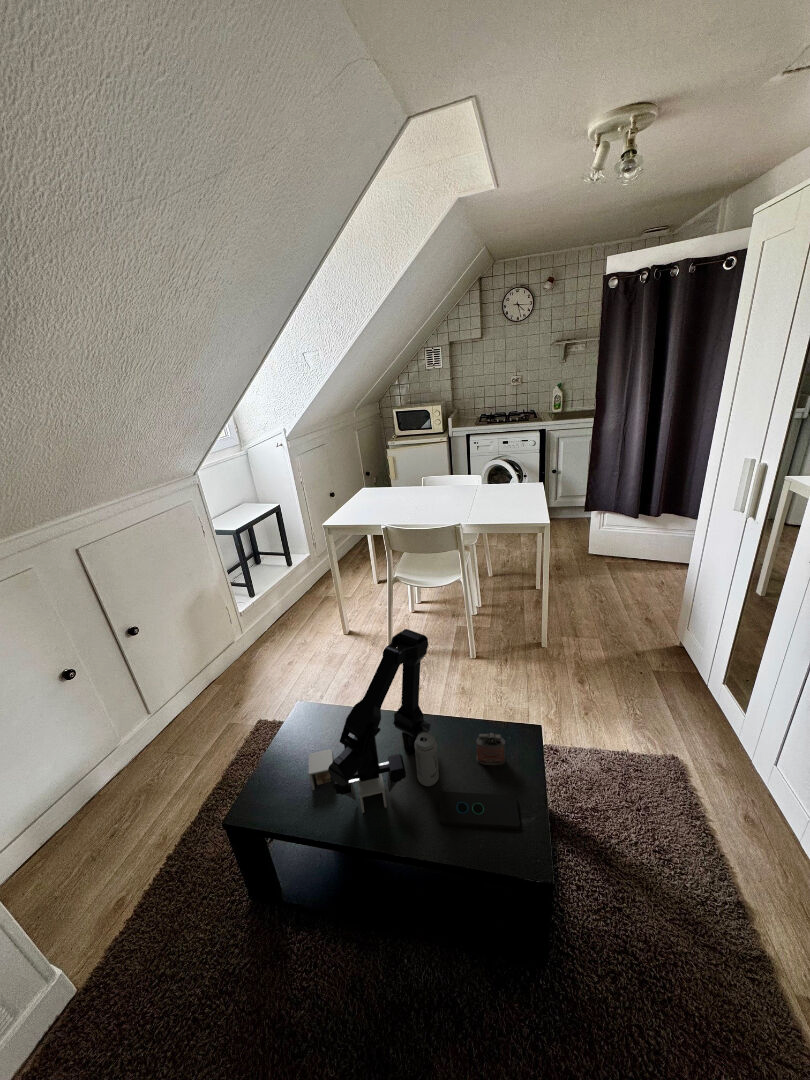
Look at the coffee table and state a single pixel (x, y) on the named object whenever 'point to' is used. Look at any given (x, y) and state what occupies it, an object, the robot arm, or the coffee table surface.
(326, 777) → the brown wooden cube
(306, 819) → the coffee table surface
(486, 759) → the lighter
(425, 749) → the energy drink can
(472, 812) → the smart home device
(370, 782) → the grey stool
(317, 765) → the grey piece
